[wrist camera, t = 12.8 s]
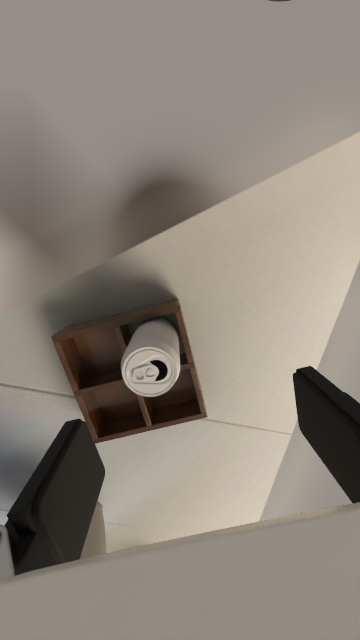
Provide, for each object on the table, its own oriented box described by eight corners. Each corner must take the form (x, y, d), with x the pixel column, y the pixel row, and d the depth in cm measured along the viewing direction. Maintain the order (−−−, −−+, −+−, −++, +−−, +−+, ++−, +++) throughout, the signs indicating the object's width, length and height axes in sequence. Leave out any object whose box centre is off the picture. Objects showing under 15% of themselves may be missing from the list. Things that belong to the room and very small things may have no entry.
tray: (66, 326, 36) (50, 336, 32) (178, 298, 36) (179, 304, 31) (103, 422, 41) (94, 443, 36) (203, 398, 40) (207, 417, 36)
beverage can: (182, 349, 37) (187, 392, 25) (142, 360, 37) (129, 407, 26) (171, 310, 35) (172, 336, 24) (129, 321, 36) (109, 352, 24)
